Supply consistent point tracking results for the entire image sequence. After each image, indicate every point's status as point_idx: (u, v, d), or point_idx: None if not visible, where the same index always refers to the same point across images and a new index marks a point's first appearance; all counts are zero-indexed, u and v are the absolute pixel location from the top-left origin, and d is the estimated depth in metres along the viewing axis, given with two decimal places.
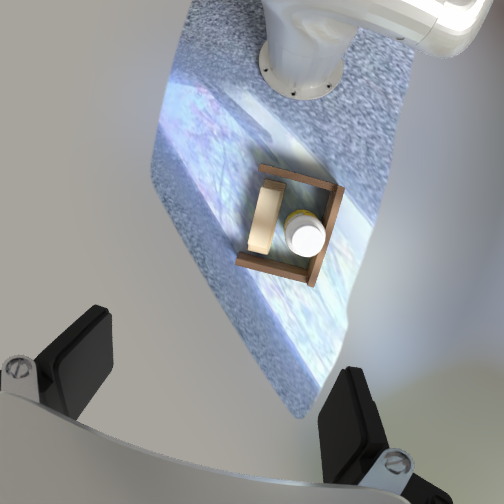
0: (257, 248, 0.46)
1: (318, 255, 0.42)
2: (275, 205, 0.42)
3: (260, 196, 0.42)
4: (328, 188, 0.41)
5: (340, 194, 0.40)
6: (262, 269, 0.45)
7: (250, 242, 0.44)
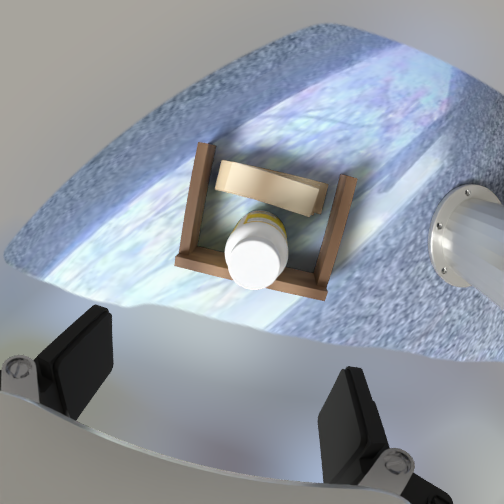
0: (224, 174, 0.29)
1: (223, 269, 0.29)
2: (290, 208, 0.28)
3: (305, 187, 0.27)
4: (321, 276, 0.29)
5: (315, 295, 0.29)
6: (193, 185, 0.28)
7: (234, 165, 0.27)
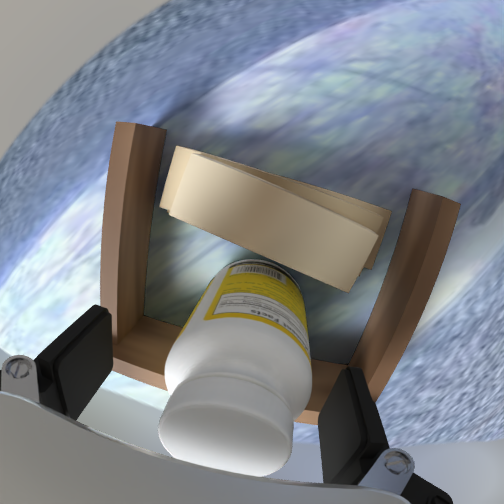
0: (179, 177, 0.13)
1: None
2: (310, 270, 0.13)
3: (350, 228, 0.12)
4: None
5: None
6: (110, 214, 0.12)
7: (194, 162, 0.12)
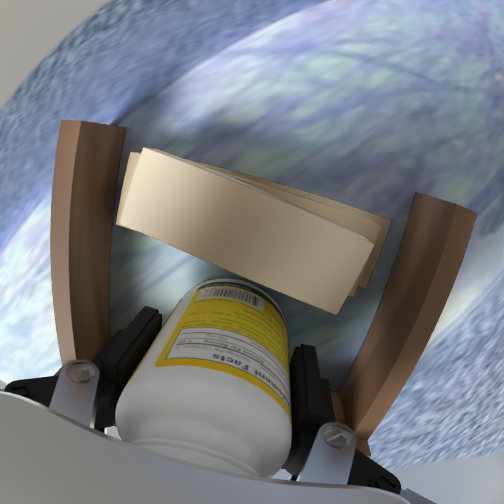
0: None
1: None
2: (289, 288, 0.10)
3: (339, 236, 0.10)
4: (362, 426, 0.11)
5: None
6: (57, 229, 0.10)
7: (147, 158, 0.09)
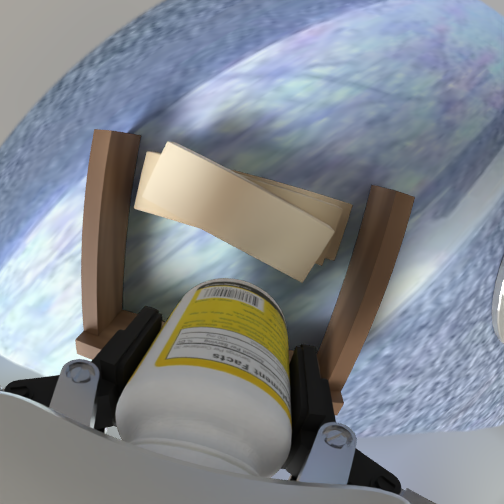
0: None
1: None
2: (267, 258, 0.14)
3: (307, 222, 0.13)
4: (334, 376, 0.15)
5: None
6: (89, 213, 0.13)
7: (169, 150, 0.13)
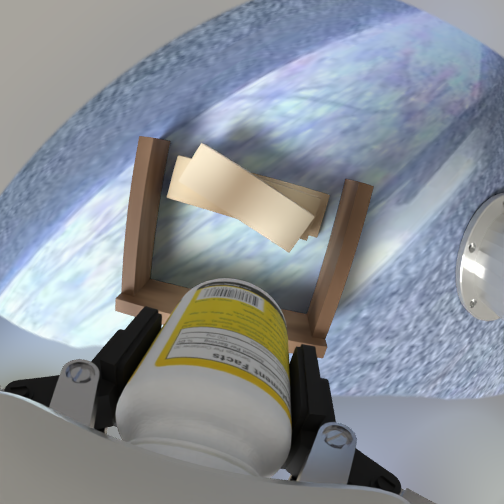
0: None
1: None
2: (265, 232, 0.19)
3: (295, 208, 0.19)
4: (319, 325, 0.20)
5: None
6: (134, 198, 0.19)
7: (202, 149, 0.18)
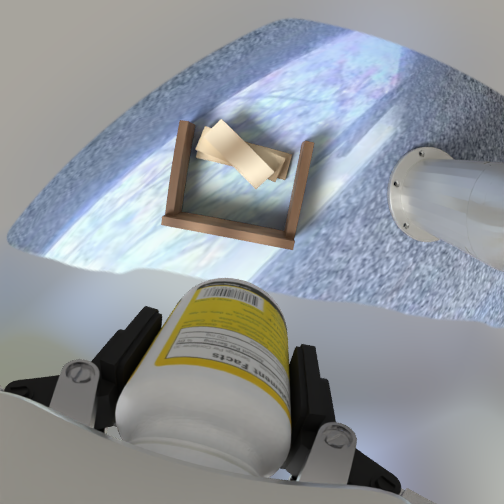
0: None
1: (203, 225, 0.33)
2: (244, 174, 0.33)
3: (264, 165, 0.32)
4: (289, 229, 0.34)
5: (284, 244, 0.33)
6: (176, 155, 0.32)
7: (220, 122, 0.31)
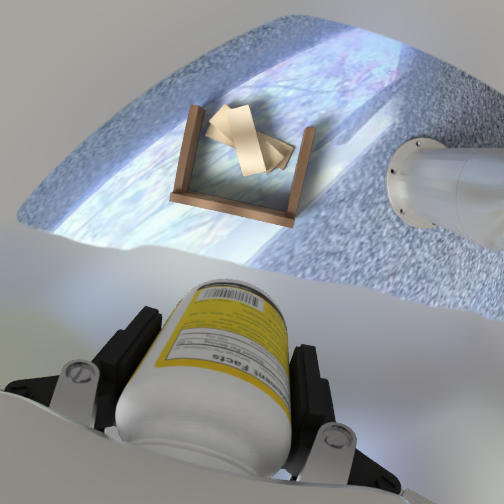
0: (220, 114, 0.35)
1: (208, 202, 0.35)
2: (240, 160, 0.35)
3: (261, 161, 0.35)
4: (289, 208, 0.36)
5: (284, 223, 0.35)
6: (186, 137, 0.34)
7: (246, 107, 0.33)
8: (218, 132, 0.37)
